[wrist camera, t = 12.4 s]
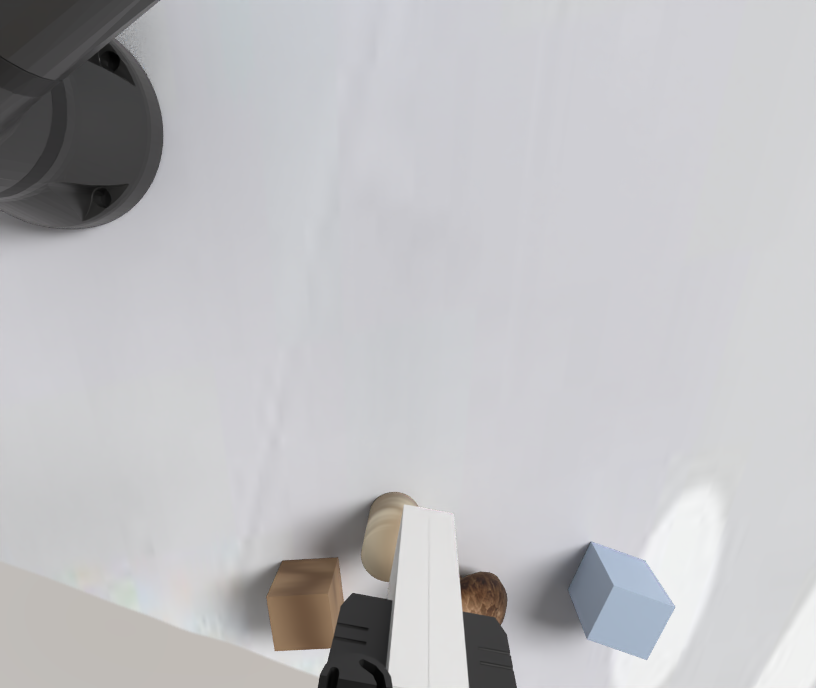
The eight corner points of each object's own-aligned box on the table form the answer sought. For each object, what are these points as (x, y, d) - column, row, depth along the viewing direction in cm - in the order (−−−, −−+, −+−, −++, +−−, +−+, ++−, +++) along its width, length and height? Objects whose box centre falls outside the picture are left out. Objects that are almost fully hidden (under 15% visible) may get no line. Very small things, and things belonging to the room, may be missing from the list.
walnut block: (290, 609, 50) (274, 651, 45) (282, 559, 49) (266, 596, 44) (344, 606, 49) (335, 648, 44) (338, 556, 48) (328, 593, 43)
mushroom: (391, 579, 45) (429, 647, 40) (471, 527, 47) (517, 587, 42) (410, 621, 50) (446, 686, 45) (482, 572, 52) (523, 630, 47)
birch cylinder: (365, 533, 48) (356, 576, 42) (373, 487, 47) (365, 524, 41) (415, 542, 48) (413, 586, 42) (424, 497, 47) (423, 535, 41)
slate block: (567, 589, 48) (586, 639, 42) (590, 541, 47) (613, 585, 41) (620, 607, 48) (646, 659, 42) (644, 560, 47) (675, 607, 41)
